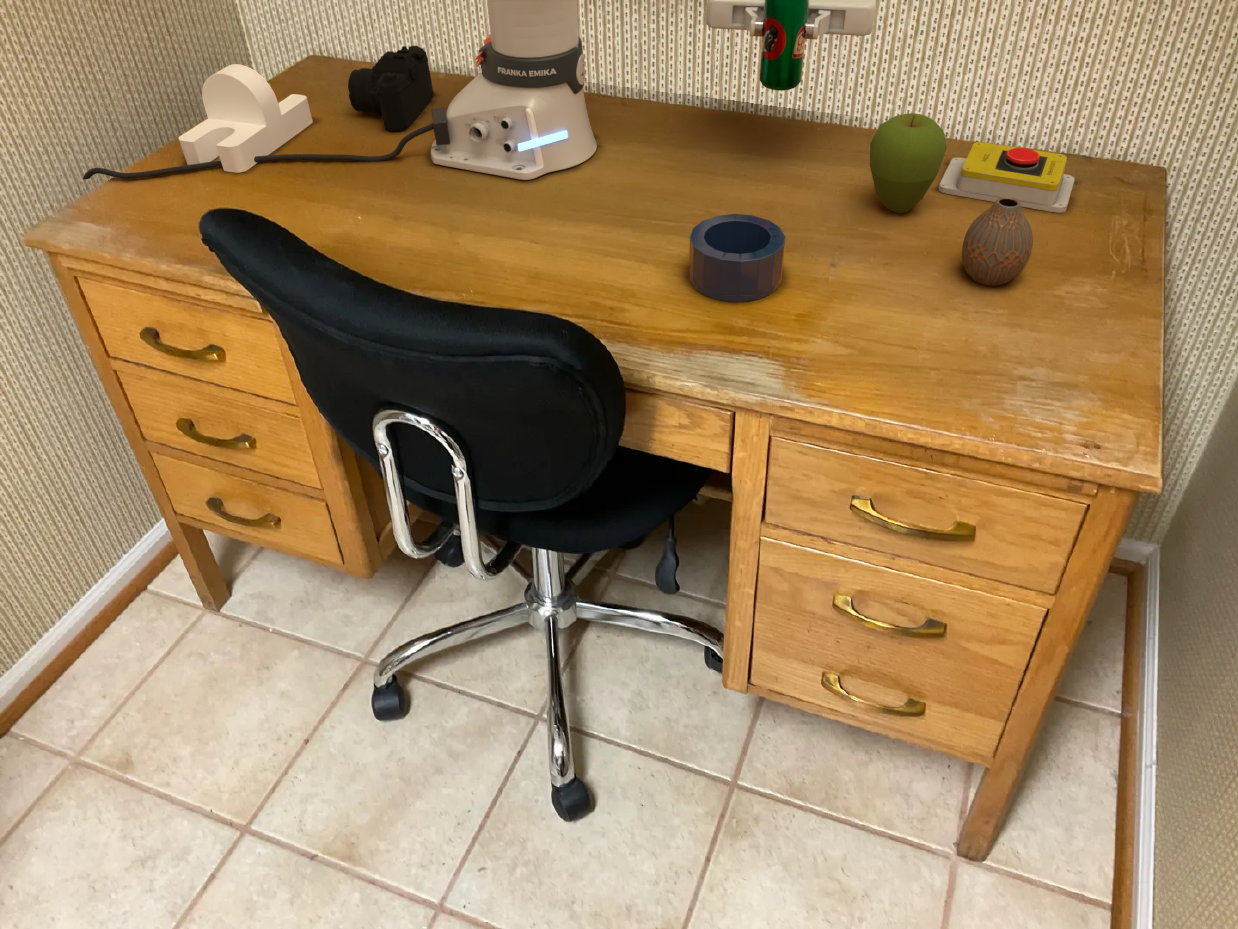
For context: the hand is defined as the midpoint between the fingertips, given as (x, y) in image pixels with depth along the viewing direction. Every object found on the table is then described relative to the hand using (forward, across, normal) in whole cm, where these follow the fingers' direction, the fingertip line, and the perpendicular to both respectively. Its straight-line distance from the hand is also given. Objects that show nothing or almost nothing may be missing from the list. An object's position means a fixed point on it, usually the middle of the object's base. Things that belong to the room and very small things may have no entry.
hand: (784, 30), depth 113 cm
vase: (+21, +26, +18) cm, 37 cm away
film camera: (-12, -57, +18) cm, 61 cm away
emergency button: (-1, +29, +18) cm, 34 cm away
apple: (+7, +16, +18) cm, 25 cm away
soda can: (-1, 0, +7) cm, 7 cm away
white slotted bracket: (+1, -73, +18) cm, 75 cm away
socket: (+26, -1, +18) cm, 31 cm away
